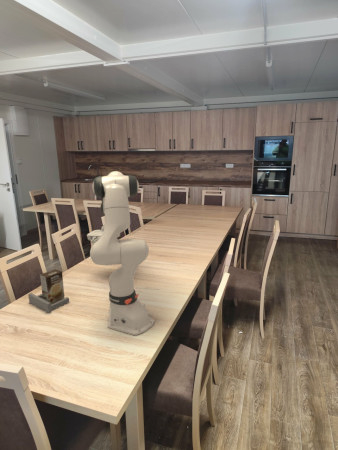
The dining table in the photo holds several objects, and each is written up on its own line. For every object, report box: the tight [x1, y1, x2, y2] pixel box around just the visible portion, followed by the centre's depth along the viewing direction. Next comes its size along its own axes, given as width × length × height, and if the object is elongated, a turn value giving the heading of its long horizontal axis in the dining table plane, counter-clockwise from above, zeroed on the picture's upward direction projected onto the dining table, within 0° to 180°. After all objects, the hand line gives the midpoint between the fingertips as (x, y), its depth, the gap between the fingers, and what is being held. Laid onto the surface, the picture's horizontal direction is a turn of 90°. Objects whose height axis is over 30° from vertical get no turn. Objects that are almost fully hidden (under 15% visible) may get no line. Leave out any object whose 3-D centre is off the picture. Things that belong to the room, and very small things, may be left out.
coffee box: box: [39, 269, 66, 304], centre depth 154 cm, size 9×6×16 cm
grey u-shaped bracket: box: [27, 292, 70, 314], centre depth 154 cm, size 18×12×5 cm
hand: (92, 242), depth 168 cm, fingers closed
